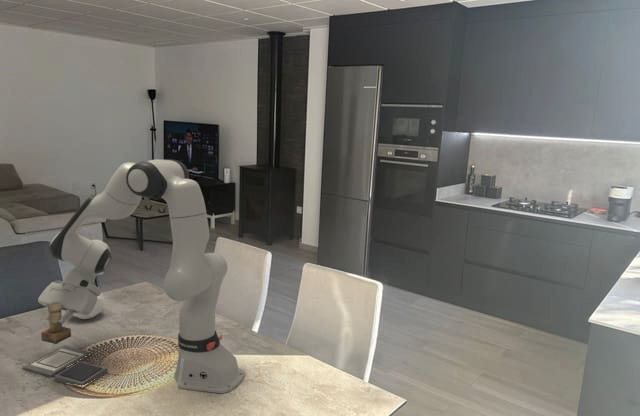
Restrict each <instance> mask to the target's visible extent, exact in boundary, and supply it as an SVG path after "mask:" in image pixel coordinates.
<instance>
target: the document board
mask: <svg viewBox="0 0 640 416" xmlns="http://www.w3.org/2000/svg"><path fill="white" fill-rule="evenodd" d="M89 354H91V355H92V352H91V351H86V350H82V349H79V348H75V347H72V346H68V345H67V346H66V345H63V346H61V347H59V348H57V349H54V350H53V351H51V352H49V353H47V354H45V355H44V356H42V357H39V358H37V359H36V360H33V361H32V362H30V363H28V364H26V365H24V366H22V370H24V371H27V372H30V373H35V374H37V375H40V376H44V377H45V376H46V377H48V378H54V376H55V375H57V374H59V373H60V372H62V371H64V369H65V368H66V367H67V366H69V365H71V364H73V363H75V362H77V361H79V360H80V359H82V358H84V357H85V356H88V355H89ZM88 357H89V356H88ZM84 359H85V358H84ZM79 362H80V361H79ZM77 363H78V362H77ZM65 370H66V369H65Z"/></svg>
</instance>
